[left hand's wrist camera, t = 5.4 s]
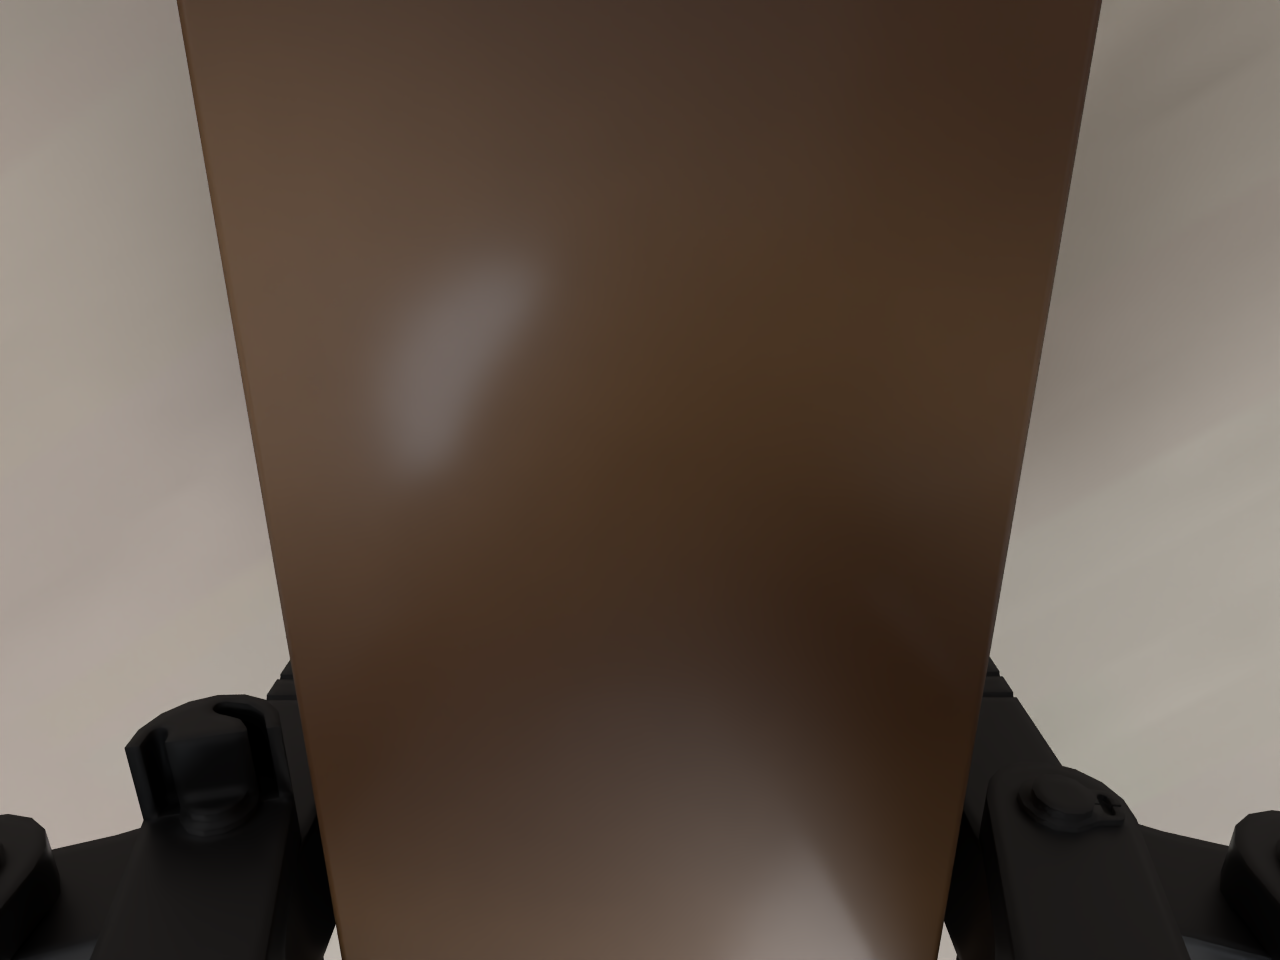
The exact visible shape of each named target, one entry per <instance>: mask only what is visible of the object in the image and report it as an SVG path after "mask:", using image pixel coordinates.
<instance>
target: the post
mask: <svg viewBox="0 0 1280 960" xmlns="http://www.w3.org/2000/svg"><path fill="white" fill-rule="evenodd" d="M1101 3H1102V0H177V5H178V10H179V16H180V22H181V28H182V34H183V39H184V45H185V51H186V57H187V63H188V68H189V74H190V80H191V86H192V92H193V97H194V103H195V109H196V115H197V121H198V127H199V132H200V138H201V144H202V150H203V156H204V161H205V167H206V173H207V179H208V185H209V190H210V196H211V202H212V208H213V214H214V219H215V225H216V231H217V237H218V243H219V248H220V254H221V260H222V266H223V272H224V277H225V283H226V289H227V295H228V301H229V306H230V312H231V318H232V324H233V330H234V336H235V341H236V347H237V353H238V359H239V365H240V370H241V376H242V382H243V388H244V394H245V399H246V405H247V411H248V417H249V423H250V428H251V434H252V440H253V446H254V452H255V457H256V463H257V469H258V475H259V481H260V486H261V492H262V498H263V504H264V510H265V515H266V521H267V527H268V533H269V539H270V545H271V550H272V556H273V562H274V568H275V574H276V579H277V585H278V591H279V597H280V603H281V608H282V614H283V620H284V626H285V632H286V637H287V643H288V649H289V655H290V661H291V666H292V672H293V678H294V684H295V690H296V695H297V701H298V707H299V713H300V719H301V725H302V730H303V736H304V742H305V748H306V754H307V759H308V765H309V771H310V777H311V783H312V788H313V794H314V800H315V806H316V812H317V817H318V823H319V829H320V835H321V841H322V846H323V852H324V858H325V864H326V870H327V875H328V881H329V887H330V893H331V899H332V904H333V910H334V916H335V922H336V928H337V934H338V939H339V945H340V951H341V957H342V960H937V958H938V952H939V946H940V940H941V935H942V929H943V923H944V917H945V911H946V906H947V900H948V894H949V888H950V882H951V876H952V871H953V865H954V859H955V853H956V847H957V841H958V836H959V830H960V824H961V818H962V812H963V807H964V801H965V795H966V789H967V783H968V777H969V772H970V766H971V760H972V754H973V748H974V743H975V737H976V731H977V725H978V719H979V713H980V708H981V702H982V696H983V690H984V684H985V678H986V673H987V667H988V661H989V655H990V649H991V644H992V638H993V632H994V626H995V620H996V614H997V609H998V603H999V597H1000V591H1001V585H1002V580H1003V574H1004V568H1005V562H1006V556H1007V550H1008V545H1009V539H1010V533H1011V527H1012V521H1013V516H1014V510H1015V504H1016V498H1017V492H1018V486H1019V481H1020V475H1021V469H1022V463H1023V457H1024V451H1025V446H1026V440H1027V434H1028V428H1029V422H1030V417H1031V411H1032V405H1033V399H1034V393H1035V387H1036V382H1037V376H1038V370H1039V364H1040V358H1041V353H1042V347H1043V341H1044V335H1045V329H1046V323H1047V318H1048V312H1049V306H1050V300H1051V294H1052V288H1053V283H1054V277H1055V271H1056V265H1057V259H1058V254H1059V248H1060V242H1061V236H1062V230H1063V224H1064V219H1065V213H1066V207H1067V201H1068V195H1069V190H1070V184H1071V178H1072V172H1073V166H1074V160H1075V155H1076V149H1077V143H1078V137H1079V131H1080V125H1081V120H1082V114H1083V108H1084V102H1085V96H1086V91H1087V85H1088V79H1089V73H1090V67H1091V61H1092V56H1093V50H1094V44H1095V38H1096V32H1097V27H1098V21H1099V15H1100V9H1101Z"/></svg>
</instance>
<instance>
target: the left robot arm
mask: <svg viewBox="0 0 1280 960" xmlns="http://www.w3.org/2000/svg"><path fill="white" fill-rule="evenodd" d="M280 675H281V677H280V679H277V680H276V682H275V683H274V685H273V687H272V688H271V690H270V691H269V693H268V694H267V700H264V699H261V698H257V697H253V696H249V695H245V694H243V695H216V696H212V697H208V698H203V699H199V700H195V701H190V702H187V703H185V704H183V705H181V706H178V707H176V708H174V709H171V710H169V711H167V712H164V713H162V714H160V715H159V716H158V717H156V718H155V719H153V720H152V721H150V722H149V723H148V724H146V725H145V726H143V727H142V728H141V729H139V730H138V731H137V733H136V734H135V735H134V736H133V738H132V739H131V740H130V742H129V743H128V744H127V746H126V747H125V752H126V755H127V759H128V763H129V767H130V770H131V774H132V778H133V782H134V785H135V789H136V793H137V797H138V801H139V804H140V808H141V812H142V816H143V819H144V821H143V823H142V826H141V828H139V829H135V830H132V831H129V832H125V833H122V834H119V835H115V836H110V837H106V838H102V839H97V840H93V841H88V842H84V843H79V844H75V845H71V846H66V847H62V848H57V849H53V850H51V847H50V844H49V841H48V837H47V834H46V831H45V829H44V828H43V827H42V826H41V825H39V824H38V823H37V822H36V821H35V820H34V819H32V818H29V817H23V816H17V815H11V814H5V815H0V960H324V957H323V956H324V954H325V951H326V948H327V946H328V943H329V941H330V938H331V935H332V933H333V930H334V927H335V925H336V922H335V916H334V910H333V904H332V899H331V893H330V887H329V881H328V875H327V870H326V864H325V858H324V852H323V846H322V841H321V835H320V829H319V823H318V817H317V812H316V806H315V800H314V794H313V788H312V783H311V777H310V771H309V765H308V759H307V754H306V748H305V742H304V736H303V730H302V725H301V719H300V713H299V707H298V701H297V695H296V690H295V684H294V678H293V672H292V666H291V661H289V662H288V664H287V665H286V667H285V668H284V670H283V671H282V673H281V674H280ZM944 922H945V925H946V927H947V930H948V932H949V935H950V938H951V940H952V943H953V945H954V948H955V951H956V953H957V957H956V960H1280V811H1274V810H1271V811H1265V812H1259V813H1253V814H1248V815H1247V816H1246V817H1245V818H1244V819H1243V820H1241V821H1240V822H1239V823H1238V824H1237V825H1236V826H1235V829H1234V832H1233V835H1232V838H1231V841H1230V845H1229V846H1226V845H1221V844H1217V843H1212V842H1208V841H1203V840H1199V839H1194V838H1190V837H1186V836H1181V835H1177V834H1172V833H1168V832H1163V831H1160V830H1157V829H1153V828H1150V827H1146V826H1143V825H1140V824H1138V822H1137V819H1136V818H1135V816H1134V815H1133V813H1132V812H1131V810H1130V809H1129V807H1128V806H1127V804H1126V803H1125V801H1124V800H1123V799H1122V798H1121V797H1119V796H1118V795H1117V794H1116V793H1115V792H1113V791H1112V790H1111V789H1110V788H1108V787H1107V786H1106V785H1105V784H1103V783H1102V782H1100V781H1098V780H1096V779H1094V778H1092V777H1090V776H1088V775H1086V774H1084V773H1082V772H1080V771H1078V770H1076V769H1072V768H1068V767H1064V766H1062V765H1061V763H1060V762H1059V760H1058V759H1057V757H1056V756H1055V754H1054V753H1053V751H1052V750H1051V748H1050V747H1049V745H1048V744H1047V742H1046V741H1045V739H1044V738H1043V736H1042V735H1041V733H1040V732H1039V730H1038V729H1037V727H1036V726H1035V724H1034V723H1033V721H1032V720H1031V718H1030V717H1029V715H1028V714H1027V712H1026V711H1025V709H1024V708H1023V706H1022V705H1021V703H1020V702H1019V700H1018V699H1017V697H1013V691H1012V690H1011V688H1010V687H1009V685H1008V684H1007V682H1006V681H1005V679H1004V678H1003V676H1000V675H999V670H998V669H997V667H996V666H995V664H994V663H993V661H992V660H991V658H990V657H989V661H988V667H987V673H986V678H985V684H984V690H983V696H982V702H981V708H980V713H979V719H978V725H977V731H976V737H975V743H974V748H973V754H972V760H971V766H970V772H969V777H968V783H967V789H966V795H965V801H964V807H963V812H962V818H961V824H960V830H959V836H958V841H957V847H956V853H955V859H954V865H953V871H952V876H951V882H950V888H949V894H948V900H947V906H946V911H945V917H944Z"/></svg>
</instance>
